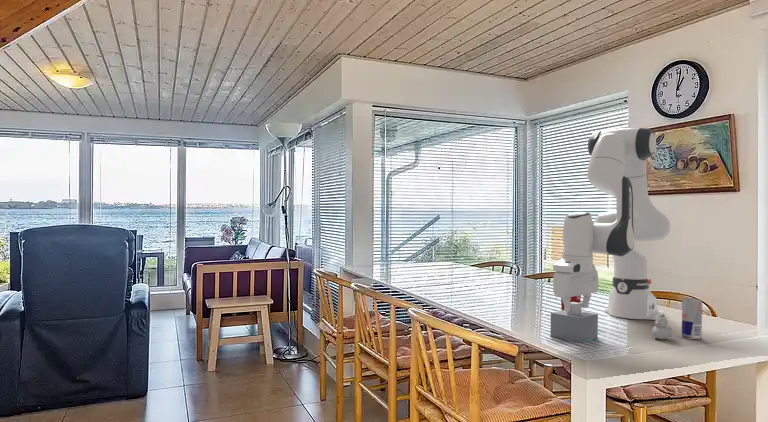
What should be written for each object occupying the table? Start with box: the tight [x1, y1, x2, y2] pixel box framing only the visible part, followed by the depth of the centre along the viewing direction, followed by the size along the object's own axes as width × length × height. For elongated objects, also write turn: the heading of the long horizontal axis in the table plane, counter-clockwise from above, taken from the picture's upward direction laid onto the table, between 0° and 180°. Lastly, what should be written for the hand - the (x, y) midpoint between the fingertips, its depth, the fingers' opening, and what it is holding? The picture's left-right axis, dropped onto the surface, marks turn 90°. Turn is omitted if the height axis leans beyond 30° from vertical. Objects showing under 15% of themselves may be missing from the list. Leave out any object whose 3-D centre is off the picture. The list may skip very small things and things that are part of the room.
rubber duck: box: [651, 314, 672, 341], centre depth 163 cm, size 5×7×8 cm
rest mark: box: [564, 338, 594, 343], centre depth 163 cm, size 10×10×1 cm
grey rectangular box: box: [549, 302, 599, 344], centre depth 164 cm, size 10×10×10 cm
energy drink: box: [681, 297, 703, 340], centre depth 165 cm, size 5×5×12 cm
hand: (576, 309), depth 163 cm, fingers open, 8 cm apart
